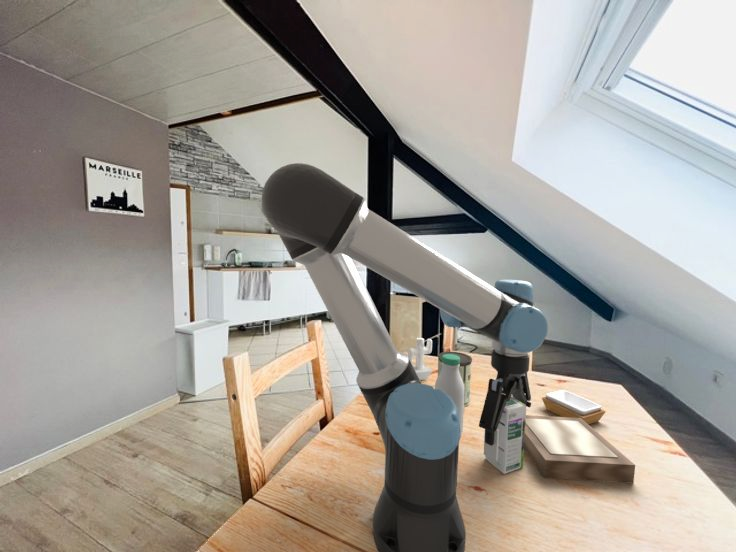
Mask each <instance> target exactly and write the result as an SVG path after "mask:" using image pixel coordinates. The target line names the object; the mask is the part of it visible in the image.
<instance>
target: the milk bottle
mask: <svg viewBox="0 0 736 552" xmlns="http://www.w3.org/2000/svg"><path fill="white" fill-rule="evenodd" d="M459 366H460V357H459V356H457V355H453V354H444V355H442V369H441V372H440V374H439V376H438V375H437V378H436V381H435V384H434V389H440V390H441V391H443V392H445V393H446V394H447V395H448V396H449V397H450V398H451V399H452V400H453V401H454V403H455V404H456V406H457V408H458V412H459V422H460V436H461V435H462V433H463V429H464V415H465V407H464V384H463V381H462V378H461V376H460V373H459Z"/></svg>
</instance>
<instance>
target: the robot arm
mask: <svg viewBox="0 0 736 552" xmlns="http://www.w3.org/2000/svg"><path fill="white" fill-rule="evenodd" d="M261 207H262V210H263V214H264V216H265V218H266V220H267V222H268V223H269V225H270V226H271V227H272V228H273V229H274V230H275V231H276V232H277V233H278V236H279V239H281V242H282V243H283V245H284V247H285V249H286V251H287V252H288V255H289V256H290V258H291V260H292V261H293V262H295V263H297V264H301V265H302V266H304V267H305V269H306V271H307V273H308V275H309V278H310V279H311V281H312V282H313V284H314V287H315V289H316V291H317V293H318V295H319V296H320V299H321V300H322V303H323V304H324V306H325V308H326V310H327V311H328V313H329V317H331V319H332V322H333V324H334V325H335V327H336V329H337V331H338V333H339V335H340V337H341V338H342V341H343V342H344V345H345V346H346V348H347V350H348V352H349V354H350V356H351V358H352V359H353V362H354V363H355V366H356V368H357V370H358V372H357V376H356V379H355V380H356V385H357V386H358V388H359V390H360V391H361V394H362V395H363V397H364V400H365V402H366V403H367V406H368V408H369V409H370V411H371V413H372V416H373V418H374V420H375V422H376V425H377V428H378V431H379V434H380V436H381V440H382V441H383V446H384V454H385V455H384V457H385V459H384V462H385V463H384V485H383V487H382V489H381V492H380V495H379V498H378V500H377V502H376V505H375V508H374V511H373V518H372V537H373V542H374V544H375V546H376V549H377V551H378V552H465V551H466V539H467V538H466V535H467V534H466V527H465V522H464V519H463V516H462V512H461V509H460V505H459V502H458V498H457V483H458V467H459V451H460V450H459V449H460V440H461V435H460V422H459V412H458V408H457V406H456V404H455V403H454V401H453V400H452V399H451V398H450V397H449V396H448V395H447V394H446V393H445V392H443V391H441V390H440V389H435V386H432V385H429V384H425V383H422V382H421V380H419V378H418V376H417V374H416V372H415V370H414V368H413V366H412V365H413V364H412V363H411V362H410V360H409V357H408V353H407V354H406V353H405V352H403V351H399V350H398V349H397V348H396V347H395V346H396V345H395V344H394V342H393V340H392V338H391V336H390V333H389V332H388V330H387V328H386V326H385V323H384V321H383V320H382V317H381V316H380V313H379V312H378V309H377V307H376V305H375V303H374V301H373V299H372V296H371V295H370V293H369V291H368V289H367V288H368V287H366V284H365V282H364V280H363V279H362V277H361V274H360V273H359V270H358V269H357V266H356V264H355V262H354V261H356V262H357V263H358V264H360V265H362V266H365V268H367V269H369V270H371V271H373V272H375V273H377V274H378V275H380V276H382V277H383V278H384V279H387V280H389V281H390V282H392V283H393V284H396V285H397V286H400V287H401V288H403V289H404V290H406V291H408V292H409V293H411V294H413V295H415V296H417V297H418V298H420V299H421V300H423V301H425V302H427V303H429V304H431V305H432V306H434V307H435V308H437V309H439V315H440V318H441V320H442V322H443V324H444V325H445V326H446V327H448V328H457V329H461V328H468V329H470V330H472V331H474V332H476V333H479V335H480V334H481V335H482V336H483V337H486V338H488V339H489V340H491V348H492V350H491V354H490V355H491V356H490V358H491V359H490V365H491V367H492V368H493V369H494V370H495V371H496V372H497V373H496V374H497V375H496V377H495V379H494V378H489V380H488V385H487V393H486V396H485V399H484V403H483V408H482V410H481V415H480V417H479V418H480V419H479V422H478V426H479V427H480V428H482V429H484V436H483V437H484V438H483V439H484V440H483V455H484V457H485V456H487V457H489V458H491V459H493V460H495V461H497V460H498V445H499V429H497V427H498V425H499V422H500V419H501V416H502V413H503V410H504V407H505V405H506V402H507V401H509V400H510V398H511V397H513V398H515V399H517V400H519V401H520V402H522V403H524V404H525V405H526V408H531V407H532V403H531V402H530V401H531V400H532V396H531V391H530V390H531V389H530V385H529V383H530V382H529V378H528V372H529V370H530V355H529V353H531V352H534V351H536V350H537V349H539V348H540V347H541V346H542V345H543V343H544V341H545V339H546V337H548V331H549V324H548V320H547V317H546V316H545V314H544V313H543V312H542V311H541V310H540V309H539V308H537V307H534V304H535V302H534V286H533V284H532V283H531V282H529V281H526V280H520V279H518V280H517V279H498V280H496V281H495V283H494V286H492V285H490V284H489V283H487V282H486V281H485V280H482V278H479V277H478V276H476V275H474V274H473V273H472V272H470V271H468V270H467V269H465V268H464V267H462V266H460V265H458V263H455V262H454V261H453V260H451V259H449V258H447V257H446V256H445V255H443V254H441V253H439V252H438V251H436V250H435V249H433V248H432V247H430V246H429V245H427V244H425V243H423V242H422V241H420V240H419V239H417V238H415V237H414V236H412V235H410V234H409V233H408V232H406V231H404V230H402V229H401V228H399V227H398V226H397V225H395V224H394V223H391V222H390V221H388V220H387V219H385V218H383V217H382V216H380V215H379V214H377V213H376V212H374V211H373V210H371V209H369V208H368V204H367V201H366V198H365V197H363V196H362V195H360V194H358V193H357V192H355V190H354V191H353V190H352V189H351V188H349V187H348V186H346V185H345V184H343V183H342V182H341V181H339V180H338V179H336V178H334V177H333V176H331V175H330V174H328V173H327V172H325V170H324V171H323V170H322V169H320V168H318V167H316V166H314V165H312V164H307V163H303V162H302V163H301V162H300V163H298V162H297V163H290V164H287V165H284V166H281V167H280V168H277V169H276V170H275V171H274V172H272V174H270V175H269V176H268V178H267V180H266V181H265V183H264V185H263V188H262V194H261ZM525 422H526V421H525Z"/></svg>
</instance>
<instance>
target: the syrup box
mask: <svg viewBox="0 0 736 552" xmlns="http://www.w3.org/2000/svg"><path fill="white" fill-rule="evenodd" d="M526 415H527V406H526V405H525V404H524V403H522V402H520V401H519V400H517V399H515V398H513V396H511V398H510V400H509V401H507V402H506V405H505V407H504V410H503V413H502V416H501V419H500V422H499V425H498V427H497V429H499V445H498V460H497V461H495V460H493V459H491V458H489V457H487V456H485V455H484V457H485V459H486V461H488V462H489V463H490V464H491V465H492V466H493V467H494V468H496V470H499V472H501V473H502V474H503V475H506V474H507V473H511V472H514V471H517V470H519V469H522V468H523V467H524V458H525V457H524V455H525V454H524V453H525V449H524V440H525V421H526Z"/></svg>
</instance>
